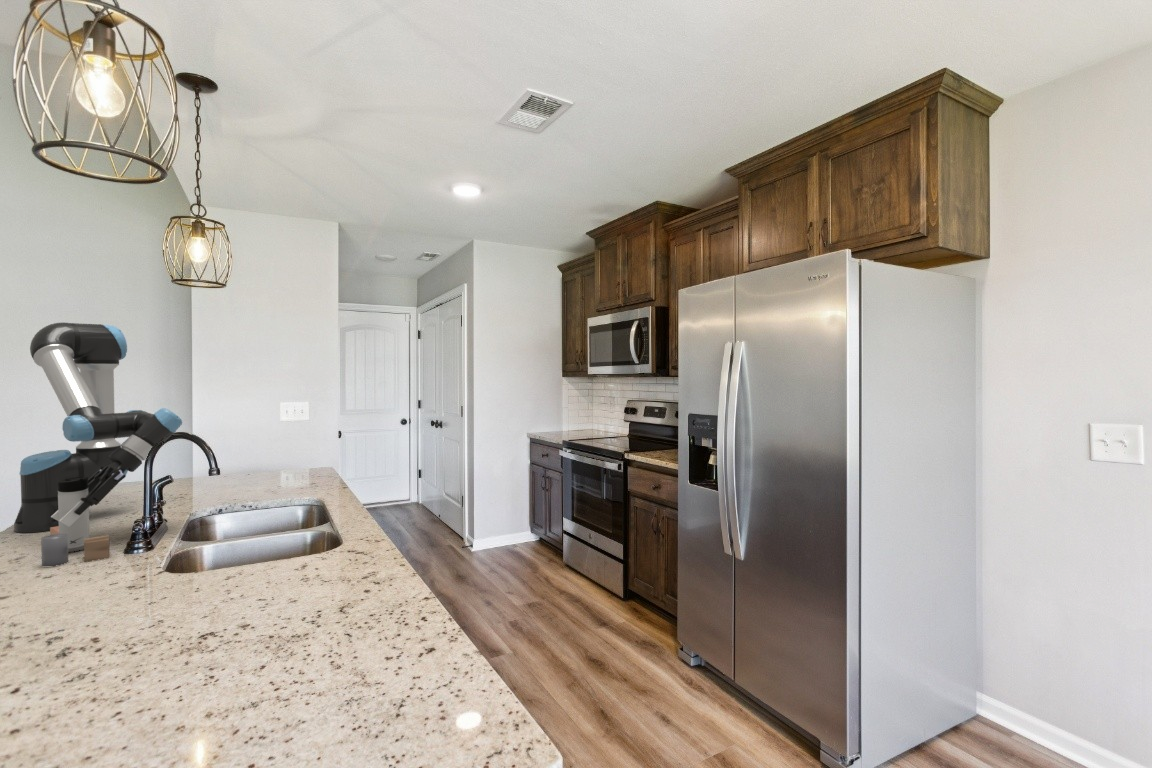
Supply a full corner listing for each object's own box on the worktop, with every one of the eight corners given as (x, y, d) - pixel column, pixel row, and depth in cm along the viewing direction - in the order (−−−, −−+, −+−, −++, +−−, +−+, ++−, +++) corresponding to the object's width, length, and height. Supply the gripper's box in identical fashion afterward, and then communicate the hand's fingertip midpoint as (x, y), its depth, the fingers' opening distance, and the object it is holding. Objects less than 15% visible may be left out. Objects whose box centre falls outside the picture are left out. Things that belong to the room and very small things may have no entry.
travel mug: (78, 553, 153) (76, 480, 151) (52, 552, 153) (51, 479, 151) (96, 544, 159) (95, 475, 158) (72, 543, 159) (70, 473, 157)
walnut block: (84, 557, 150) (84, 538, 150) (109, 553, 153) (108, 535, 153) (84, 562, 146) (84, 543, 146) (109, 558, 149) (109, 539, 149)
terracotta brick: (50, 541, 164) (50, 527, 164) (68, 537, 168) (68, 524, 168) (58, 546, 160) (58, 531, 160) (77, 542, 163) (76, 528, 163)
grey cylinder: (48, 561, 146) (47, 534, 146) (72, 559, 148) (71, 532, 148) (37, 568, 142) (36, 540, 141) (62, 565, 143) (61, 538, 143)
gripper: (155, 465, 162) (84, 535, 150) (130, 458, 174) (62, 523, 161) (132, 449, 158) (57, 519, 145) (108, 443, 169) (36, 508, 156)
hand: (60, 521), depth 153 cm, fingers closed on travel mug, 7 cm apart
